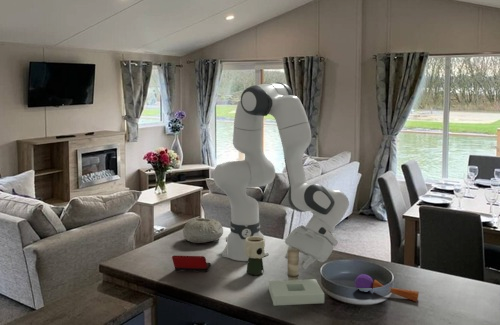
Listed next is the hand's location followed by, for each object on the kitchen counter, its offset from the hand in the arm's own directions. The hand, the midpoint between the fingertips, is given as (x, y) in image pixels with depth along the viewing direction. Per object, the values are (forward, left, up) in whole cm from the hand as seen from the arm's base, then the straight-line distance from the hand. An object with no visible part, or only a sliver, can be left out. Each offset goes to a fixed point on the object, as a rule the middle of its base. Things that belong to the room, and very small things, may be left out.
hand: (294, 263), depth 163 cm
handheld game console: (-17, -36, -8) cm, 40 cm away
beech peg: (0, -1, -7) cm, 7 cm away
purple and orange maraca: (+12, +28, -8) cm, 31 cm away
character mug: (-11, -13, -8) cm, 18 cm away
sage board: (+10, -2, -7) cm, 13 cm away
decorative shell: (-51, -32, -8) cm, 60 cm away
